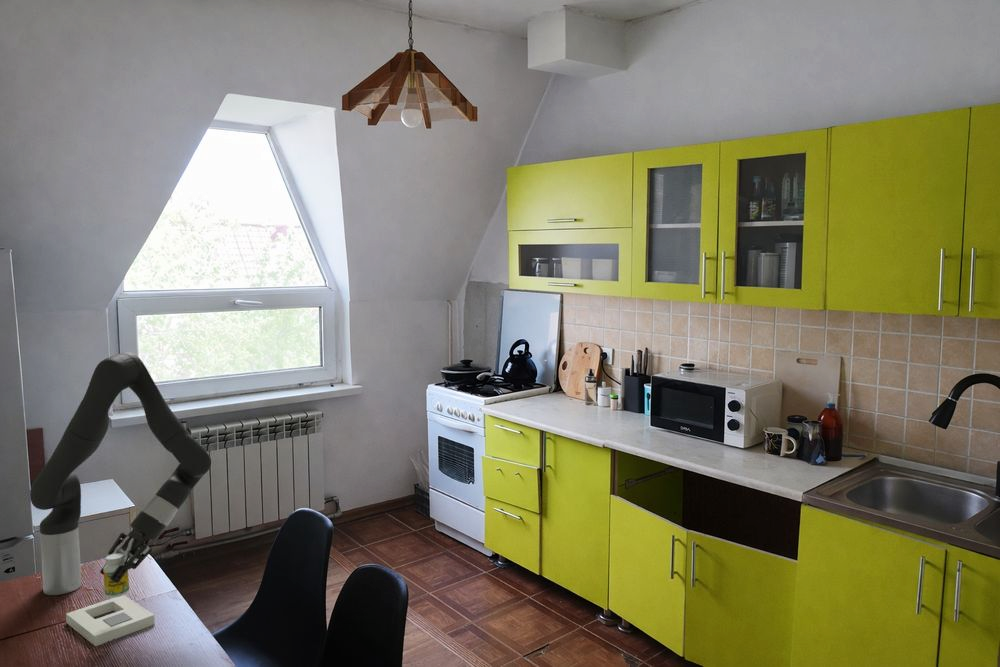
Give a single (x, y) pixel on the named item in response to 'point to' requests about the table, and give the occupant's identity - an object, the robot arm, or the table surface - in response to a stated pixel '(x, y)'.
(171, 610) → the table surface
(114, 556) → the supplement bottle
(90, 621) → the socket dock
